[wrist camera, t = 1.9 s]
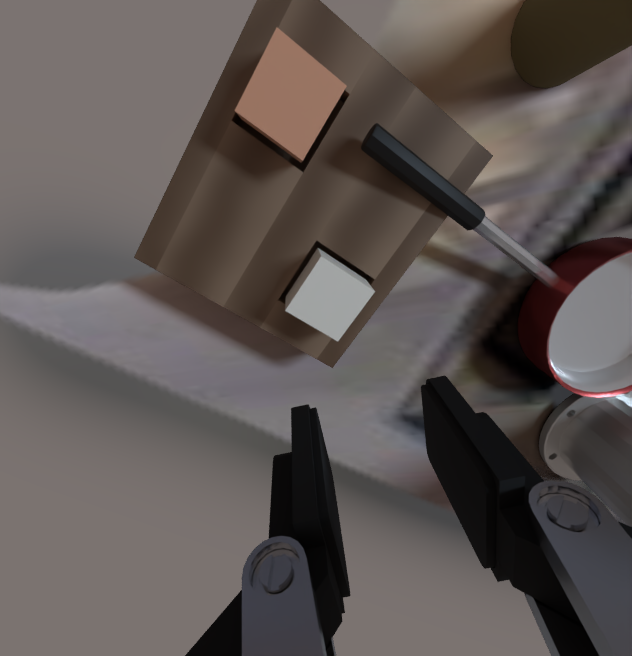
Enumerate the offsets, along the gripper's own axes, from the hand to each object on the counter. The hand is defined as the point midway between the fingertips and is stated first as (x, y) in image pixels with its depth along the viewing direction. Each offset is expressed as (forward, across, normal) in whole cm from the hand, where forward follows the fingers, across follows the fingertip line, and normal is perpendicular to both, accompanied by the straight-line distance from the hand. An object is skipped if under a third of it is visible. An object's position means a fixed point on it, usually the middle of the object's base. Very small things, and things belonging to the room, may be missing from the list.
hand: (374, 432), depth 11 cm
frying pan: (+20, -15, +3) cm, 25 cm away
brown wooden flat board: (+19, 0, -6) cm, 20 cm away
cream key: (+16, 0, 0) cm, 16 cm away
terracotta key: (+16, 0, -11) cm, 19 cm away
